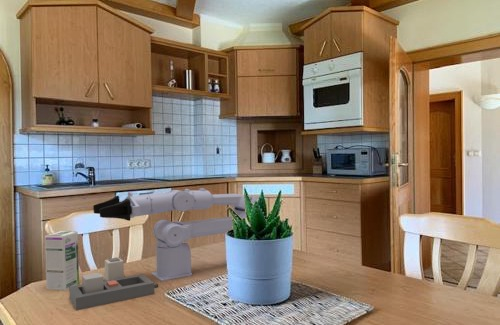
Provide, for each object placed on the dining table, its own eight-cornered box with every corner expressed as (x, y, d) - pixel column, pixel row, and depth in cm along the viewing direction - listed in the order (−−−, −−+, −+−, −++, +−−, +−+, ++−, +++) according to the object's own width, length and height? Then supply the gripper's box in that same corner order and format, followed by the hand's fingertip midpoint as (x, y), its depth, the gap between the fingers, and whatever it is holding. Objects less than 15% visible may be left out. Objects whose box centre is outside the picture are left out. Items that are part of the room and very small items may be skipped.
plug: (119, 279, 108) (119, 256, 108) (123, 283, 104) (123, 259, 104) (104, 281, 105) (104, 258, 105) (108, 286, 102) (108, 261, 102)
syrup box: (65, 291, 99) (64, 235, 99) (45, 290, 100) (44, 234, 100) (79, 284, 105) (78, 230, 104) (60, 283, 106) (59, 230, 106)
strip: (151, 283, 105) (151, 261, 105) (163, 292, 98) (163, 269, 97) (69, 299, 94) (69, 274, 94) (76, 311, 86) (75, 284, 86)
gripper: (139, 188, 114) (90, 193, 106) (155, 192, 102) (101, 198, 94) (140, 211, 114) (91, 218, 107) (157, 218, 102) (103, 227, 95)
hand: (96, 211), depth 100 cm, fingers open, 7 cm apart
